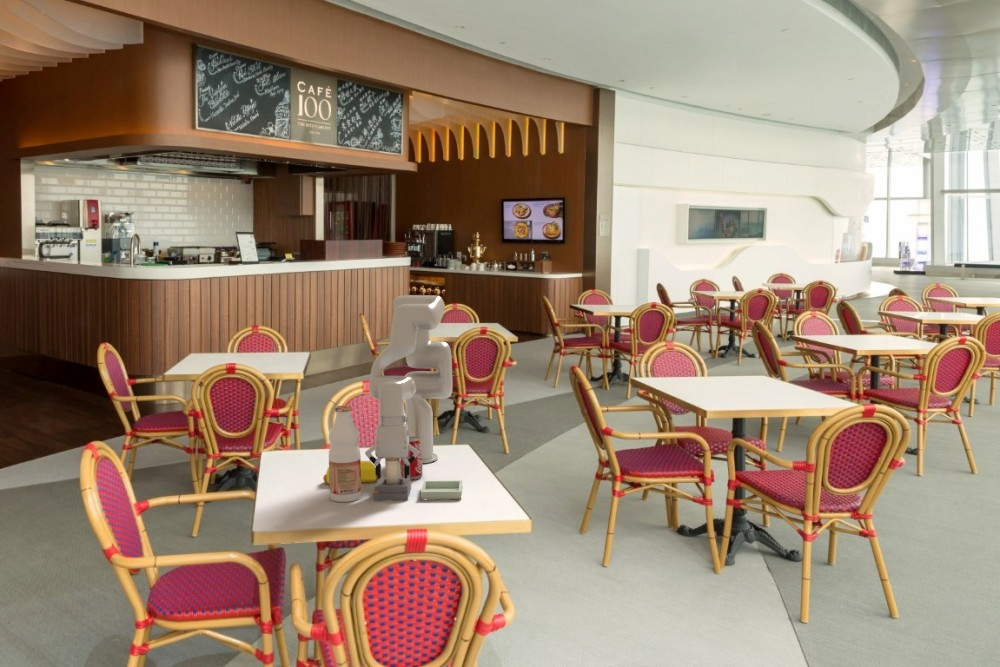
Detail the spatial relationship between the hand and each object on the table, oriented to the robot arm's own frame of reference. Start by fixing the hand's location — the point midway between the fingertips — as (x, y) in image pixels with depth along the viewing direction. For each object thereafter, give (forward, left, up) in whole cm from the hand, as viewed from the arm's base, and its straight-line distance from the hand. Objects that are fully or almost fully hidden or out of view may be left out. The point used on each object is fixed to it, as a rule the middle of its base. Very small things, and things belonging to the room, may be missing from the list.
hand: (392, 477), depth 258 cm
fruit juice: (+3, -14, -6) cm, 15 cm away
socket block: (0, 0, -5) cm, 5 cm away
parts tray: (0, +15, -5) cm, 16 cm away
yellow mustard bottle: (-15, -15, -6) cm, 22 cm away
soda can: (-19, +4, -6) cm, 20 cm away
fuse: (0, 0, -3) cm, 3 cm away
